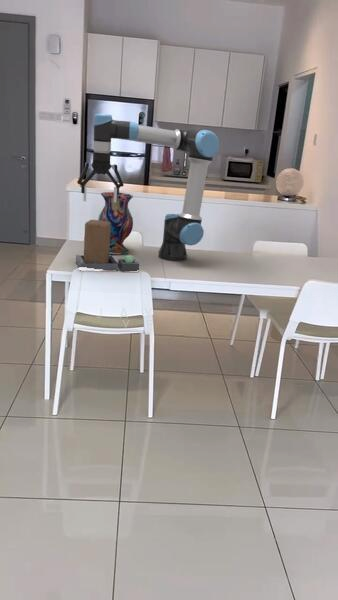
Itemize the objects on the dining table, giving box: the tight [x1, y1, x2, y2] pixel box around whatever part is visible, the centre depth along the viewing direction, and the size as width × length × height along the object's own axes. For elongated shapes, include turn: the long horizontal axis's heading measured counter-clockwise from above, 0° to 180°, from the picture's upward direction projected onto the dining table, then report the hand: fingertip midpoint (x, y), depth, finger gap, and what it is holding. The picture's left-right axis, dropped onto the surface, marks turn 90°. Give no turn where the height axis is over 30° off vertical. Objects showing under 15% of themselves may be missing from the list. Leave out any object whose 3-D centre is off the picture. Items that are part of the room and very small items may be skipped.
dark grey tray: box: [75, 254, 119, 272], centre depth 225 cm, size 17×15×4 cm
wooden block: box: [83, 219, 111, 263], centre depth 222 cm, size 10×10×20 cm
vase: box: [97, 191, 134, 255], centre depth 253 cm, size 18×18×30 cm
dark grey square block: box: [117, 258, 140, 272], centre depth 225 cm, size 8×8×4 cm
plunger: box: [124, 254, 134, 263], centre depth 224 cm, size 4×4×5 cm
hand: (99, 201), depth 216 cm, fingers open, 13 cm apart
